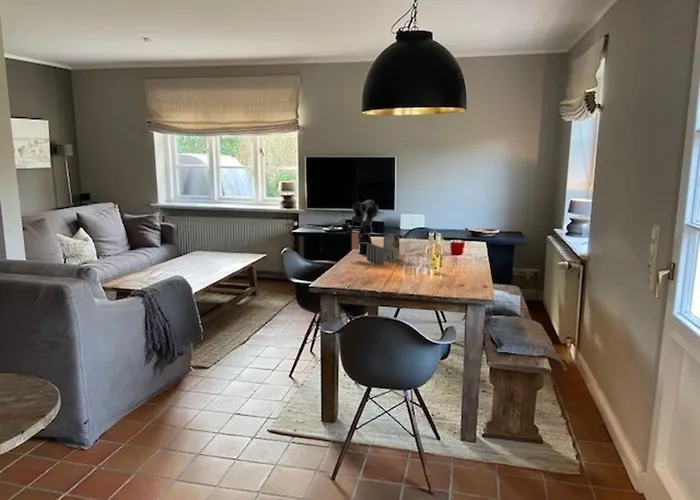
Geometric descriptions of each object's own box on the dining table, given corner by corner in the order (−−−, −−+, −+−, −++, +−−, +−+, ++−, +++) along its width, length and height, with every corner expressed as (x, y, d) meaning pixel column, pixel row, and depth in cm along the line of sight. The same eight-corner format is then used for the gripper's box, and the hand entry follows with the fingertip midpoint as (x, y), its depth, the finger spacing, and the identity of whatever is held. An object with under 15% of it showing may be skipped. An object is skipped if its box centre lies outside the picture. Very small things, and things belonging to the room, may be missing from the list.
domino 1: (366, 260, 338) (366, 244, 336) (373, 259, 340) (373, 244, 338) (367, 260, 336) (367, 244, 335) (374, 260, 338) (374, 244, 336)
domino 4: (375, 264, 326) (375, 247, 324) (382, 263, 327) (382, 247, 325) (376, 264, 324) (377, 248, 322) (383, 264, 326) (383, 247, 324)
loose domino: (352, 248, 340) (352, 233, 338) (359, 248, 339) (359, 233, 337) (351, 249, 338) (351, 233, 336) (358, 249, 337) (358, 233, 335)
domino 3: (372, 262, 330) (372, 246, 328) (379, 262, 331) (379, 246, 330) (373, 263, 328) (373, 247, 326) (380, 262, 330) (380, 246, 328)
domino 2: (369, 261, 334) (369, 245, 332) (376, 261, 335) (376, 245, 334) (370, 262, 332) (370, 246, 330) (377, 261, 334) (377, 245, 332)
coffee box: (391, 258, 344) (391, 233, 341) (399, 259, 340) (399, 234, 338) (383, 260, 337) (383, 235, 334) (391, 261, 333) (392, 236, 330)
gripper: (342, 210, 340) (338, 230, 332) (371, 211, 336) (368, 231, 327) (345, 221, 349) (341, 241, 341) (373, 222, 345) (370, 242, 336)
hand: (355, 239), depth 336 cm, fingers closed on loose domino, 4 cm apart
